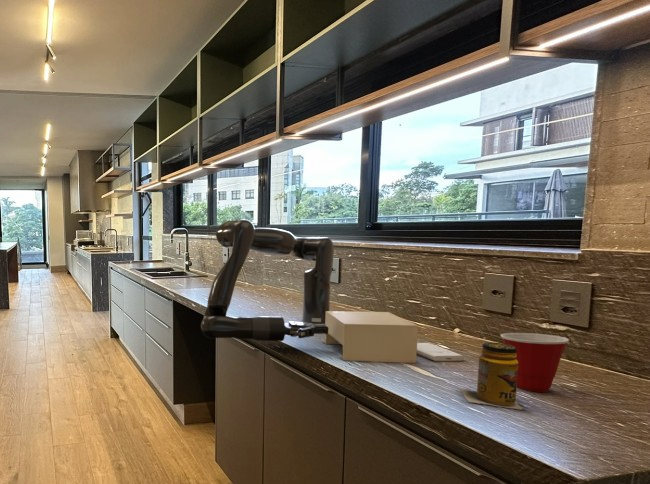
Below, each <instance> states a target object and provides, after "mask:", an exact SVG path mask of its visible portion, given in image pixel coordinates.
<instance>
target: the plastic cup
mask: <svg viewBox="0 0 650 484" xmlns="http://www.w3.org/2000/svg"><path fill="white" fill-rule="evenodd" d="M500 337H501V339H502V340H503V342H504V343H503V344H508V345H511V346H514V347H515V348H516V349H517V353H516V355H517V357H516V360H517V361H518V376H517V388H518V389H521V390H525V391H529V392H536V393H548V392H549V391H550V389H551V388H552V385H553V381H554V379H555V377H556V375H557V371H558V368H559V365H560V361H561V358H562V355H563V354H564V350H565V348H566V346H567V344H568V343H569V342H570V339H569V338H567V337H562V336H560V335H553V334H545V333H543V334H542V333H531V332H529V333H528V332H508V333H501V334H500Z"/></svg>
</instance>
